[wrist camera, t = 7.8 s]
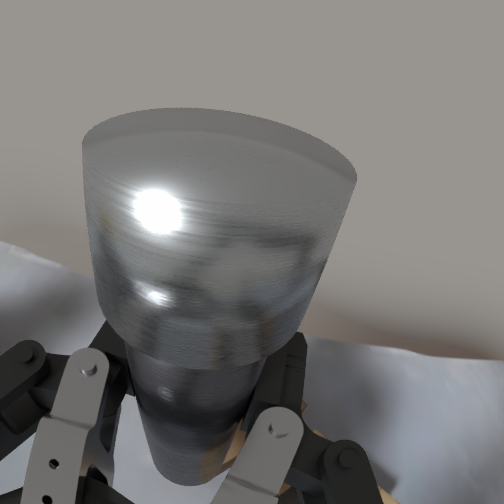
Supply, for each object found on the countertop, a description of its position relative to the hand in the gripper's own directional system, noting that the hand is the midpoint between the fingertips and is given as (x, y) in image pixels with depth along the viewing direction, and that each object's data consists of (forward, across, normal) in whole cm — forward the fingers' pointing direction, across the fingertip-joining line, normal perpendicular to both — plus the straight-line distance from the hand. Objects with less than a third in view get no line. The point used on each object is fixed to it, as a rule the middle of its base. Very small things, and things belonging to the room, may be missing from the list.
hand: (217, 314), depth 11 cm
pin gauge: (-3, 0, +8) cm, 8 cm away
